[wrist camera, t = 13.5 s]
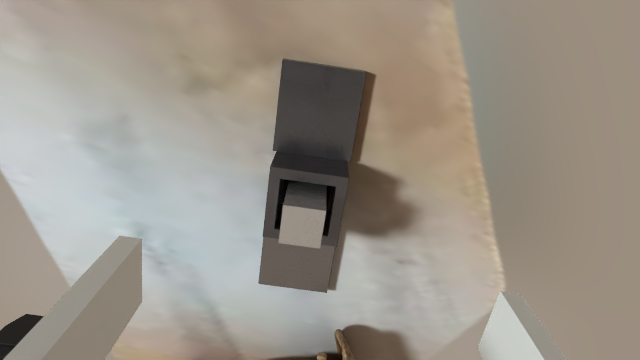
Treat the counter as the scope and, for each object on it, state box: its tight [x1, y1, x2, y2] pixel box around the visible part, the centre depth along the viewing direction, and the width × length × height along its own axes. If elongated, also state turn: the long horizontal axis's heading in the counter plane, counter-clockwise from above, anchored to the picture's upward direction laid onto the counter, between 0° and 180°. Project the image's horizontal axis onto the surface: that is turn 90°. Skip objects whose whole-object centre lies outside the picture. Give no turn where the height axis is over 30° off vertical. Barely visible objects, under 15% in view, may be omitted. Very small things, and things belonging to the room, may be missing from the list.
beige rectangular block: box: [279, 180, 326, 249], centre depth 39 cm, size 4×4×10 cm
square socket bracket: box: [259, 59, 367, 293], centre depth 41 cm, size 25×8×6 cm, turn 172°
